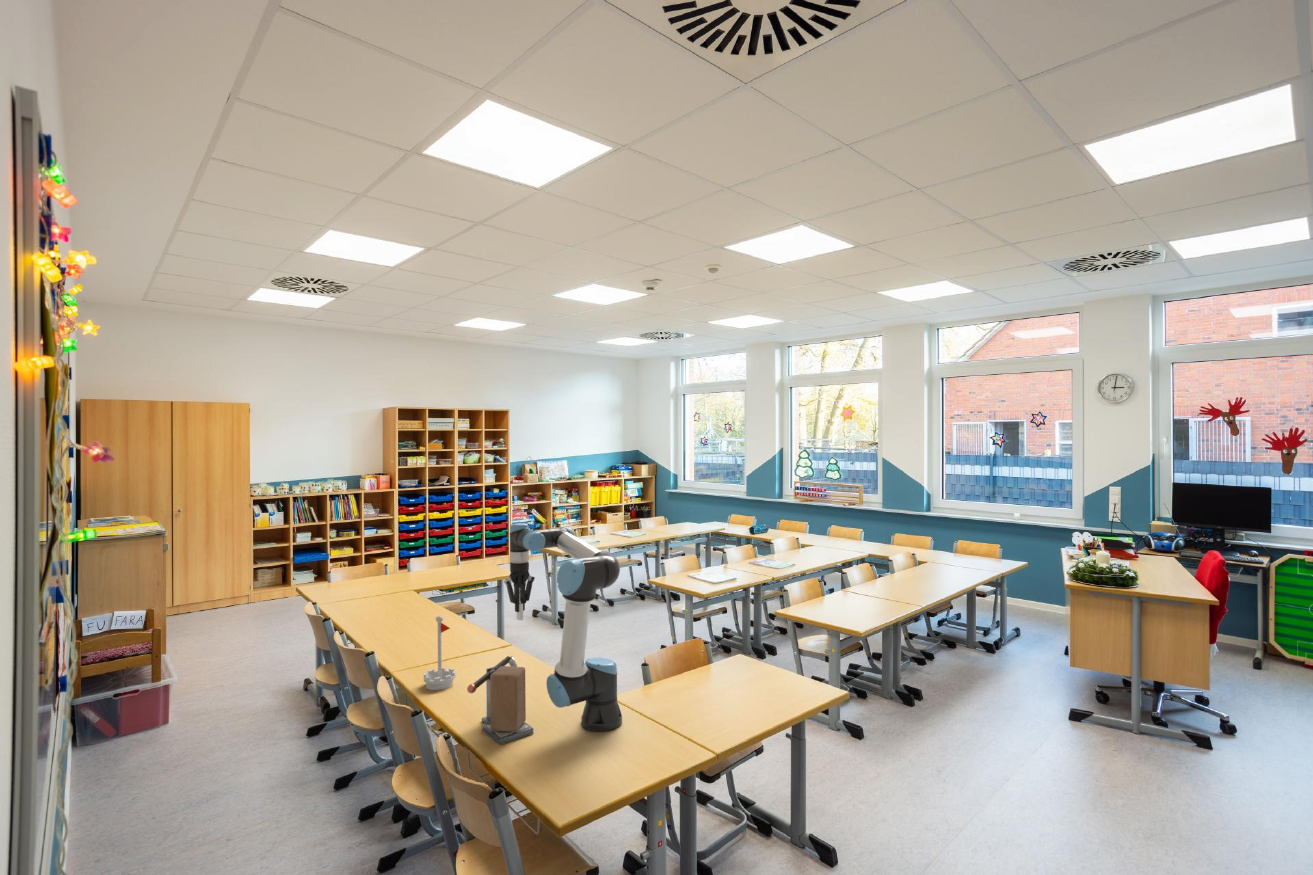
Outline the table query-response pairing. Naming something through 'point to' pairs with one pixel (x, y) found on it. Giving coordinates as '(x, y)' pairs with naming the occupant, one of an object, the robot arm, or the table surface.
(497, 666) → the lever
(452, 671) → the flag stand
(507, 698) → the wooden block
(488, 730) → the press
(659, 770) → the table surface
